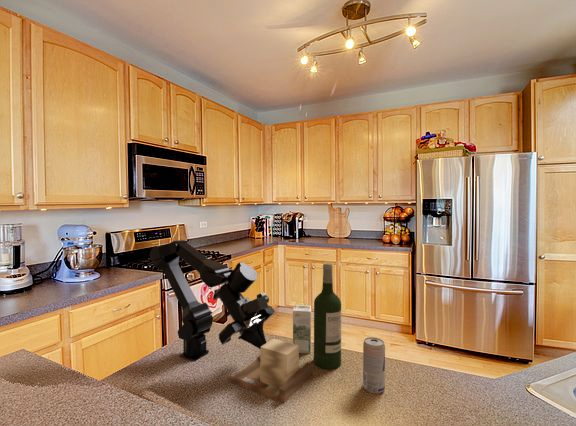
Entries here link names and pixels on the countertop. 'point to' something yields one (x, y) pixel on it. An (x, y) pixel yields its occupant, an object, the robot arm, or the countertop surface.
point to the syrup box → (302, 328)
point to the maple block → (278, 362)
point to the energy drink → (374, 365)
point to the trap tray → (268, 390)
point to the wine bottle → (327, 324)
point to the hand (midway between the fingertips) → (266, 350)
